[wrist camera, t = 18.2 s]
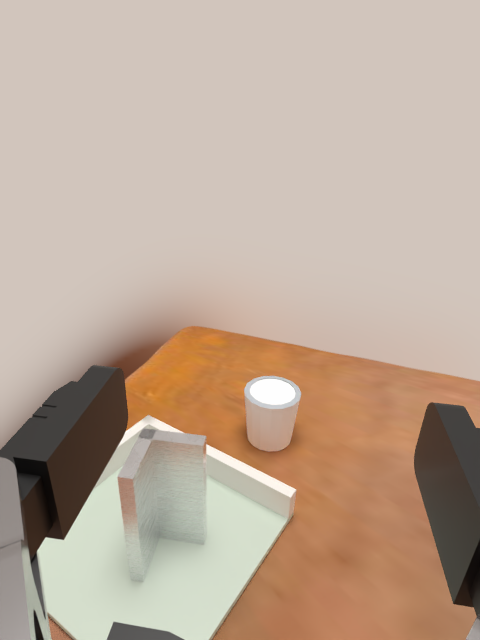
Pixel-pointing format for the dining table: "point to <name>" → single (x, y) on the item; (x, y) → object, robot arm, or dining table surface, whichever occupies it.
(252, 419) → the white cup
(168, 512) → the bracket
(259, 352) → the dining table surface
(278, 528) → the arena
